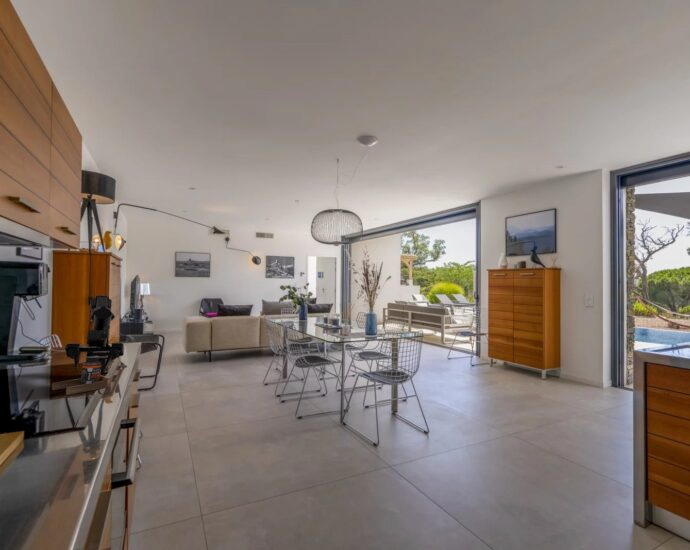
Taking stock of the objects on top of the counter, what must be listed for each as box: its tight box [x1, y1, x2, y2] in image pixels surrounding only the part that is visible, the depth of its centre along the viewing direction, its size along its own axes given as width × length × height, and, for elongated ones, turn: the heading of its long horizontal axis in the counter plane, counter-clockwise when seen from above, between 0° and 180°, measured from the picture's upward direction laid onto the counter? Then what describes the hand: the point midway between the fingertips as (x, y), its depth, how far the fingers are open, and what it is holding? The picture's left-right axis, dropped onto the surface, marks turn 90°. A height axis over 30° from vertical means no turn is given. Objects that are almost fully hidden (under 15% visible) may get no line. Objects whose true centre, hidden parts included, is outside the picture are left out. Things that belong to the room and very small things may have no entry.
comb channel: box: [51, 374, 111, 396], centre depth 135 cm, size 11×14×4 cm
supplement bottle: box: [80, 356, 101, 385], centre depth 138 cm, size 6×6×11 cm
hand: (90, 368), depth 136 cm, fingers open, 9 cm apart
